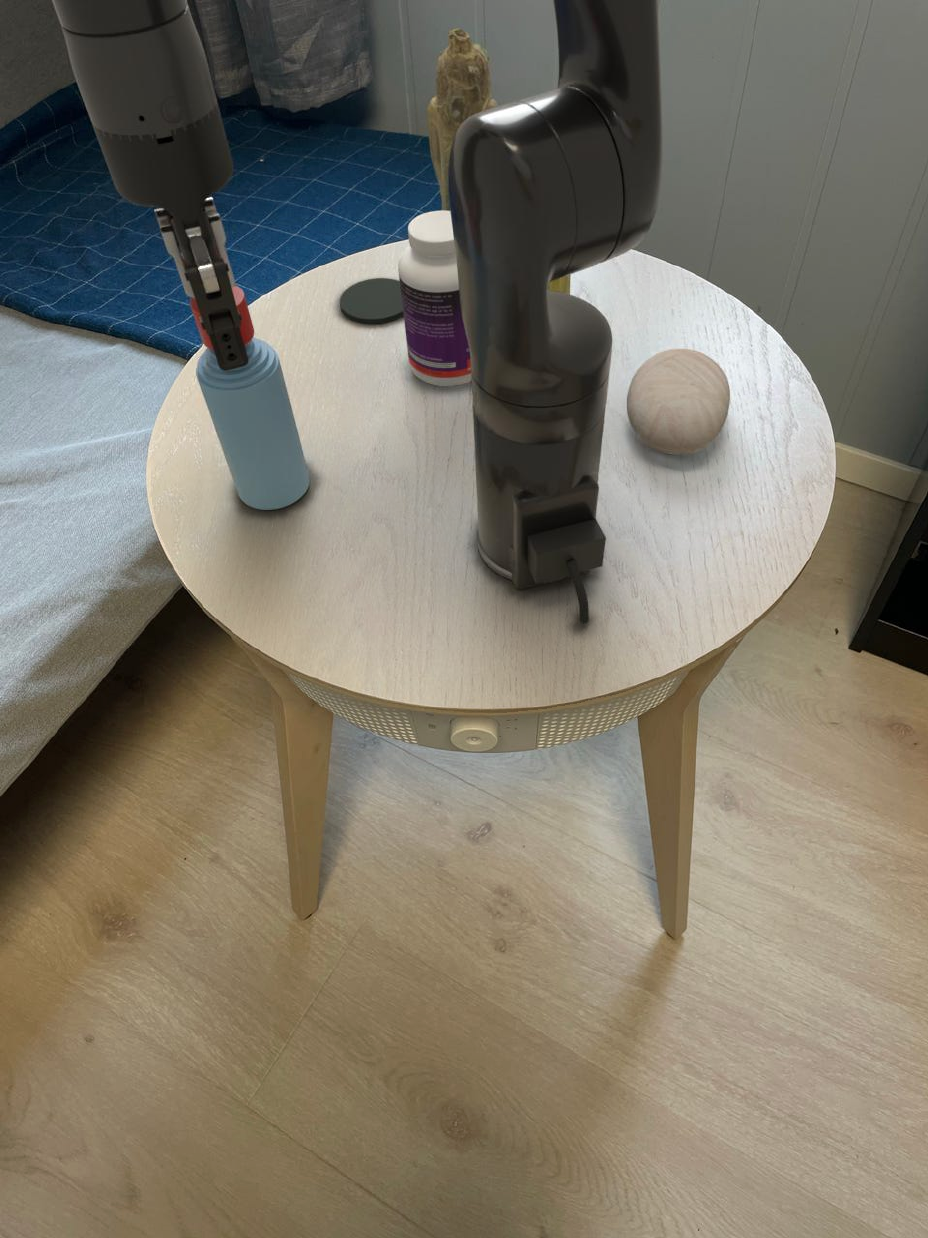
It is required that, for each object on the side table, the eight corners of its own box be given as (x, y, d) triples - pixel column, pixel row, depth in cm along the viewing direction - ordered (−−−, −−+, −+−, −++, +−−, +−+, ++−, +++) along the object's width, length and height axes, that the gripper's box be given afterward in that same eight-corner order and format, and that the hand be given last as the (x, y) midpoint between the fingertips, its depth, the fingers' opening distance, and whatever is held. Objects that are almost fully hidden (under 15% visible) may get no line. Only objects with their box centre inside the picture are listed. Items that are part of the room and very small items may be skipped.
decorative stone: (639, 373, 83) (646, 328, 79) (733, 388, 81) (744, 343, 77) (609, 458, 76) (615, 413, 72) (711, 478, 74) (723, 432, 70)
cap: (262, 340, 63) (252, 302, 61) (212, 358, 62) (200, 320, 60) (244, 315, 65) (233, 277, 63) (195, 331, 64) (182, 294, 62)
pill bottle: (481, 395, 82) (476, 253, 71) (401, 387, 83) (383, 247, 72) (496, 345, 87) (493, 205, 76) (420, 339, 88) (406, 200, 77)
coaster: (421, 315, 91) (421, 310, 90) (348, 330, 90) (347, 325, 89) (403, 276, 96) (403, 272, 95) (334, 291, 95) (333, 286, 94)
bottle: (315, 500, 74) (270, 323, 60) (242, 517, 73) (179, 341, 60) (303, 453, 78) (258, 277, 64) (233, 469, 77) (172, 294, 63)
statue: (505, 268, 96) (503, 6, 76) (500, 310, 91) (497, 41, 71) (444, 267, 96) (427, 8, 77) (436, 310, 91) (416, 43, 72)
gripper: (78, 73, 54) (166, 314, 68) (100, 164, 46) (195, 418, 60) (194, 51, 56) (258, 291, 69) (236, 135, 47) (299, 390, 61)
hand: (228, 349), depth 64 cm, fingers closed on cap, 3 cm apart
